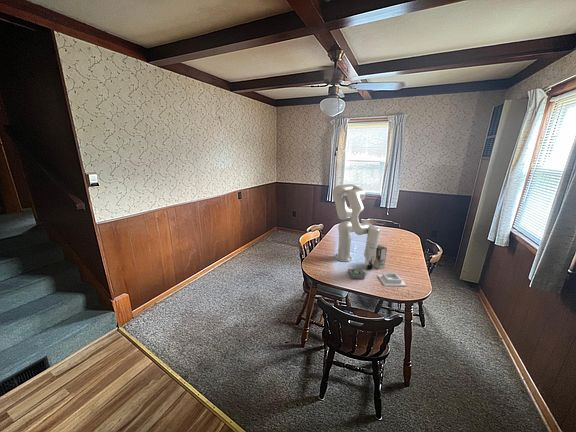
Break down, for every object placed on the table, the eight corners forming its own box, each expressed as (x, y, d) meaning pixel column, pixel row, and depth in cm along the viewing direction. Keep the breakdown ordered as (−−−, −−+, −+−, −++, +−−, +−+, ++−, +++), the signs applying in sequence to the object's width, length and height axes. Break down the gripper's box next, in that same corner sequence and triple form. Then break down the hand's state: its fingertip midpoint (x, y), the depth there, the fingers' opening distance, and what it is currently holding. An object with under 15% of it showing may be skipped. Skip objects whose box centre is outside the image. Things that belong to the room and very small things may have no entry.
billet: (363, 266, 165) (364, 257, 162) (370, 267, 165) (371, 257, 162) (365, 270, 160) (366, 260, 157) (372, 271, 160) (374, 260, 157)
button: (352, 274, 161) (353, 269, 160) (357, 274, 161) (358, 269, 160) (354, 276, 157) (354, 272, 156) (359, 277, 157) (359, 272, 156)
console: (348, 272, 163) (348, 268, 163) (360, 272, 163) (361, 269, 162) (351, 279, 155) (351, 275, 154) (364, 279, 155) (364, 275, 154)
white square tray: (377, 276, 159) (378, 271, 158) (397, 276, 159) (398, 271, 158) (384, 286, 147) (384, 281, 146) (405, 286, 147) (406, 281, 146)
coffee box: (385, 267, 171) (387, 247, 166) (379, 269, 168) (381, 249, 163) (375, 262, 178) (377, 243, 174) (369, 264, 175) (371, 245, 171)
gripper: (362, 238, 164) (359, 261, 170) (370, 249, 148) (366, 273, 154) (373, 239, 164) (369, 261, 170) (381, 250, 148) (377, 274, 154)
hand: (368, 267), depth 162 cm, fingers closed on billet, 5 cm apart
